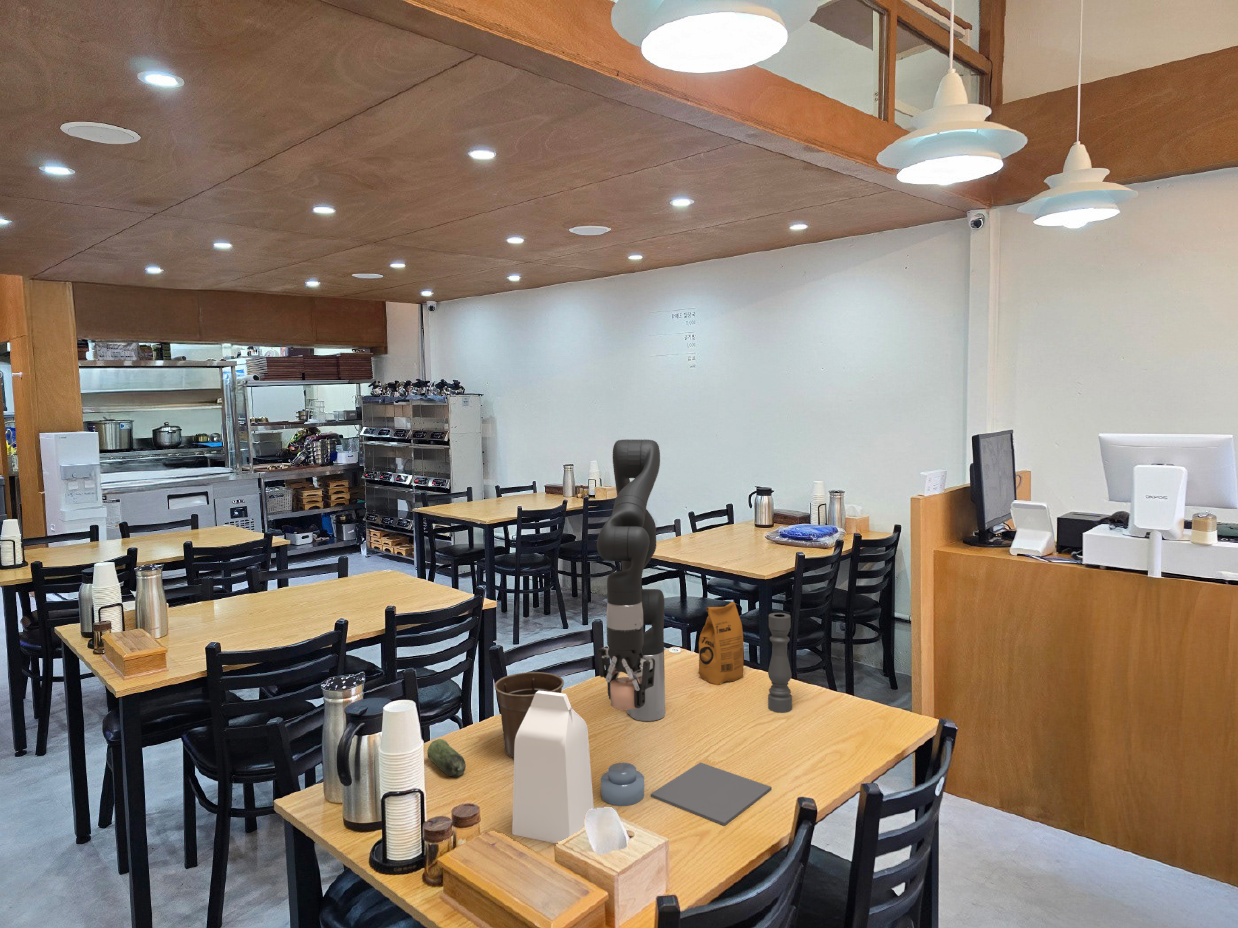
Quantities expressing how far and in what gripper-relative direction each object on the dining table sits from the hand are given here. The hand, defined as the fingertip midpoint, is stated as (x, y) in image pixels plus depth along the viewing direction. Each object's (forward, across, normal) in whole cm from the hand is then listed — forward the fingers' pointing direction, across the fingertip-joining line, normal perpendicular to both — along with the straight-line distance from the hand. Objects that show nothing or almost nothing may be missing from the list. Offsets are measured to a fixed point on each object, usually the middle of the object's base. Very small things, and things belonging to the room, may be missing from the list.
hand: (626, 702), depth 158 cm
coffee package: (+20, -23, +70) cm, 76 cm away
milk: (+20, -4, -18) cm, 27 cm away
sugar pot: (+20, -1, -1) cm, 20 cm away
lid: (0, 0, 0) cm, 0 cm away
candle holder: (+20, +2, +60) cm, 63 cm away
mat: (+20, +13, +11) cm, 26 cm away
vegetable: (+20, -39, -17) cm, 47 cm away
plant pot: (+20, -32, +2) cm, 38 cm away
